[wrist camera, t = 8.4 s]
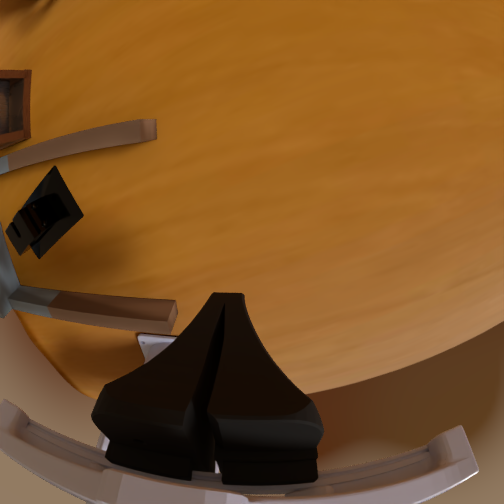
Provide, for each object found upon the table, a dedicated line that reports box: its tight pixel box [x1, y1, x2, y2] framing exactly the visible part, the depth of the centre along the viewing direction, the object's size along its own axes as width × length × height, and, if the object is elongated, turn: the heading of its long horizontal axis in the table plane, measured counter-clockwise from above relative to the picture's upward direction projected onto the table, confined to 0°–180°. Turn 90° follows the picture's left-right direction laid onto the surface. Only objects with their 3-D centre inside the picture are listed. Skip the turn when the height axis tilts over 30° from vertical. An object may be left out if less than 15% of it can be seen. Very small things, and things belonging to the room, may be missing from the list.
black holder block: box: [5, 166, 84, 259], centre depth 19 cm, size 12×7×5 cm, turn 119°
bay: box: [0, 119, 178, 335], centre depth 18 cm, size 17×23×5 cm
